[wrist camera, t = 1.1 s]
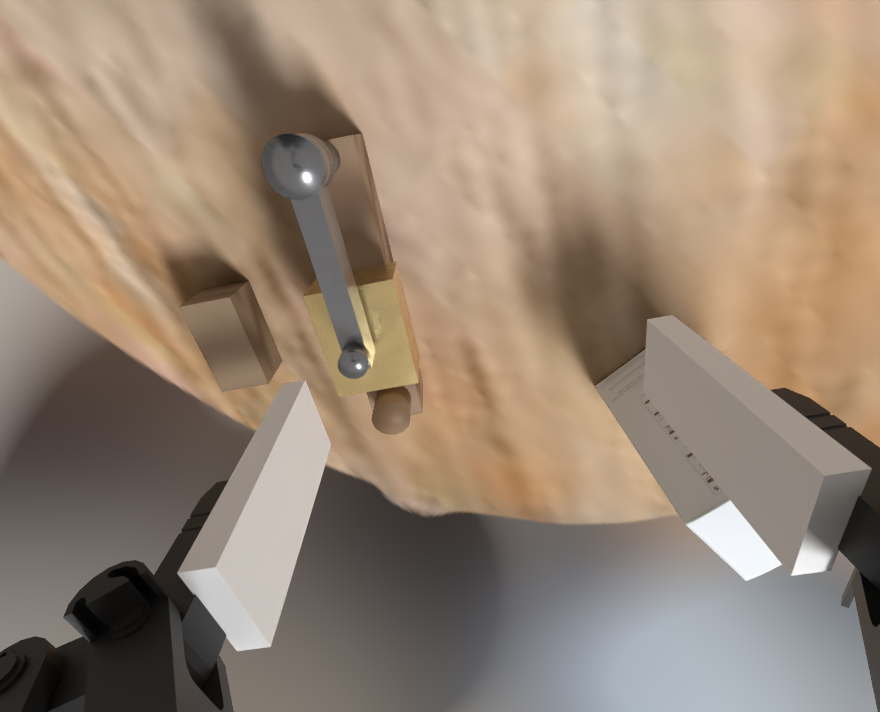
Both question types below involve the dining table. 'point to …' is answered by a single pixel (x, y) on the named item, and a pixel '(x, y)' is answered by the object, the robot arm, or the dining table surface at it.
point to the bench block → (232, 335)
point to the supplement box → (683, 474)
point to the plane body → (368, 259)
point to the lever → (322, 239)
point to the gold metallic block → (372, 331)
